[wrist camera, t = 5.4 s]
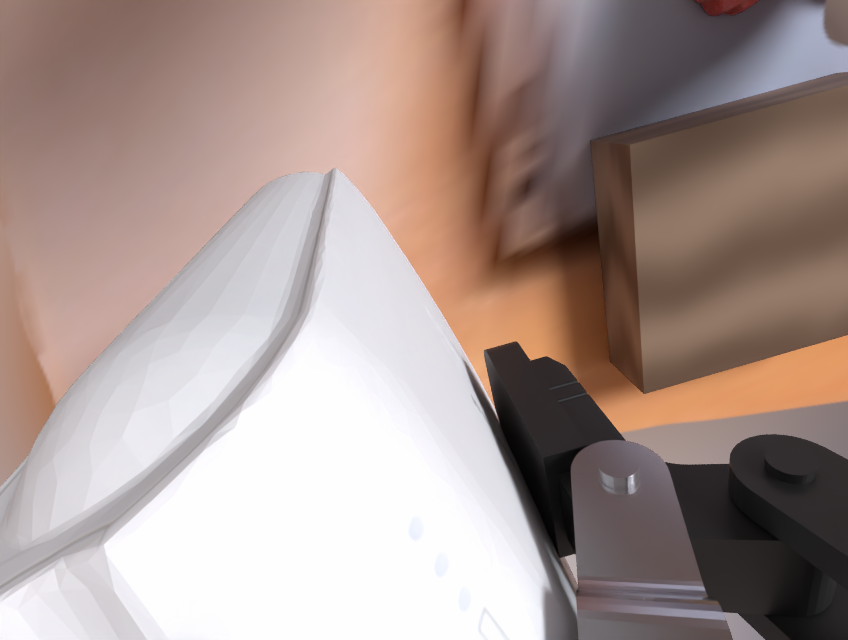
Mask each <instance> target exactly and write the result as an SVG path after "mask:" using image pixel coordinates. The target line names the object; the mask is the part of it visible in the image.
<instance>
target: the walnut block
mask: <svg viewBox="0 0 848 640" xmlns="http://www.w3.org/2000/svg"><path fill="white" fill-rule="evenodd" d="M590 143H591V154H592V165H593V176H594V187H595V198H596V209H597V220H598V231H599V242H600V254H601V265H602V276H603V287H604V298H605V309H606V320H607V331H608V342H609V353H610V362H611V363H612V364H613V365H614V366H615V367H616V368H618V369H619V370H620V371H621V372H622V373H623V374H624V375H625V376H626V377H627V378H628V379H629V380H630V381H631V382H632V383H633V384H634V385H635V386H636V387H637V388H638V389H639V390H640V391H641V392H643V393H644V394H646V393H649V392H653V391H656V390H660V389H663V388H666V387H670V386H673V385H677V384H680V383H684V382H687V381H691V380H694V379H697V378H701V377H704V376H708V375H711V374H715V373H718V372H722V371H725V370H728V369H732V368H735V367H739V366H742V365H746V364H749V363H753V362H756V361H760V360H763V359H766V358H770V357H773V356H777V355H780V354H784V353H787V352H791V351H794V350H797V349H801V348H804V347H808V346H811V345H815V344H818V343H822V342H825V341H828V340H832V339H835V338H839V337H842V336H846V335H848V72H843V73H835V74H831V75H828V76H824V77H820V78H817V79H813V80H809V81H806V82H802V83H799V84H795V85H791V86H788V87H784V88H780V89H777V90H773V91H769V92H766V93H762V94H759V95H755V96H751V97H748V98H744V99H740V100H737V101H733V102H729V103H726V104H722V105H718V106H715V107H711V108H708V109H704V110H700V111H697V112H693V113H689V114H686V115H682V116H678V117H675V118H671V119H668V120H664V121H660V122H657V123H653V124H649V125H646V126H642V127H638V128H635V129H631V130H628V131H624V132H620V133H617V134H613V135H609V136H606V137H602V138H598V139H595V140H591V141H590Z"/></svg>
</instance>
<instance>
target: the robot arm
mask: <svg viewBox="0 0 848 640" xmlns="http://www.w3.org/2000/svg"><path fill="white" fill-rule="evenodd" d="M484 357H485V362H486V367H487V372H488V376H489V381H490V386H491V391H492V395H493V400H494V405H495V409H496V413H497V417H498V420H499V423H500V426H501V428H502V431H503V433H504V435H505V438H506V440H507V442H508V444H509V447H510V449H511V451H512V453H513V455H514V457H515V459H516V461H517V464H518V466H519V468H520V470H521V473H522V475H523V477H524V480H525V482H526V484H527V486H528V489H529V491H530V493H531V495H532V497H533V500H534V502H535V504H536V506H537V509H538V511H539V513H540V515H541V518H542V520H543V522H544V524H545V527H546V529H547V531H548V533H549V536H550V538H551V540H552V542H553V544H554V547H555V549H556V551H557V553H558V555H559V558H562V557H565V556H568V555H572V554H576V562H577V577H578V589H577V590H576V604H577V623H578V640H733V639H732V635H731V632H730V629H729V626H728V624H727V621H726V618H725V615H724V613H723V612H729V613H738V614H739V615H740V616H741V617H742V618H743V619H744V620H745V621H746V622H747V623H749V624H750V625H751V626H752V627H753V628H754V629H755V630H756V631H757V632H758V633H759V634H760V635H761V636H762V637H763V638H764V639H765V640H848V460H847V459H846V458H844V457H842V456H840V455H838V454H836V453H834V452H832V451H831V450H829V449H827V448H825V447H823V446H820V445H818V444H816V443H813V442H811V441H808V440H805V439H801V438H797V437H792V436H786V435H776V434H772V435H759V436H755V437H750V438H747V439H745V440H743V441H741V442H740V443H738V444H737V445H736V446H735V447H734V448H733V450H732V452H731V454H730V463H729V464H707V465H705V464H702V465H680V464H672V463H667V462H664V461H663V459H662V458H661V457H660V456H658V454H656V453H655V452H654V451H652V450H650V449H649V448H647V447H645V446H643V445H640V444H637V443H634V442H629V441H626V440H625V439H624V438H623V437H622V435H621V434H620V433H619V432H618V430H617V429H616V428H615V427H614V425H613V424H612V423H611V422H610V420H609V419H608V418H607V417H606V415H605V414H604V413H603V412H602V410H601V409H600V408H599V407H598V406H597V404H596V403H595V402H594V401H593V399H592V398H591V397H590V396H589V395H587V393H586V391H585V389H584V388H583V387H582V386H581V384H580V383H578V382H577V379H576V378H575V377H574V376H573V375H572V373H571V372H570V371H569V370H568V368H567V367H566V366H565V365H563V364H561V363H559V362H557V361H555V360H553V359H551V358H549V357H547V356H546V357H542V358H539V359H535V360H531V361H530V359H529V358H528V357H527V355H526V354H525V352H524V351H523V349H522V348H521V346H520V345H519V344H518V342H516V341H515V342H512V343H508V344H505V345H501V346H497V347H494V348H490V349H487V350H484Z"/></svg>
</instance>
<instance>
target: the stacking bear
mask: <svg viewBox="0 0 848 640" xmlns="http://www.w3.org/2000/svg"><path fill="white" fill-rule="evenodd" d="M695 1H696V2H697V3H700V4H702V6H703V9H704V10H705V11H706V13H708V14H709V15H711V16H718V15H721V14H723V13H724V14H726V15H736V14H738V13H741V12H743V11H744V10H746V9H748V8H749V7H751V6H752V5H754V4H756V3H757V2H758V1H760V0H695Z"/></svg>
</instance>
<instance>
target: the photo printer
mask: <svg viewBox="0 0 848 640" xmlns="http://www.w3.org/2000/svg"><path fill="white" fill-rule="evenodd" d="M577 589H578V584H577V582H576V580H575V578H574V576H573V573H572V571H571V569H570V567H569V565H568V563H567V561H566V559H565V557H562V558H559V555H558V553H557V551H556V549H555V547H554V544H553V542H552V540H551V538H550V536H549V533H548V531H547V529H546V527H545V524H544V522H543V520H542V518H541V515H540V513H539V511H538V509H537V506H536V504H535V502H534V500H533V497H532V495H531V493H530V491H529V489H528V486H527V484H526V482H525V480H524V477H523V475H522V473H521V470H520V468H519V466H518V464H517V461H516V459H515V457H514V455H513V453H512V451H511V449H510V447H509V444H508V442H507V440H506V438H505V435H504V433H503V431H502V428H501V426H500V423H499V420H498V417H497V413H496V410H495V408H494V406H493V404H492V402H491V400H490V398H489V396H488V394H487V392H486V390H485V388H484V387H483V385H482V383H481V381H480V379H479V377H478V375H477V373H476V372H475V370H474V368H473V366H472V364H471V363H470V361H469V359H468V358H467V356H466V354H465V352H464V351H463V349H462V347H461V345H460V344H459V342H458V340H457V338H456V337H455V335H454V333H453V332H452V330H451V328H450V327H449V325H448V323H447V321H446V320H445V318H444V316H443V315H442V313H441V311H440V310H439V308H438V307H437V305H436V303H435V302H434V300H433V299H432V297H431V295H430V294H429V292H428V291H427V289H426V287H425V286H424V284H423V283H422V281H421V279H420V278H419V276H418V275H417V273H416V272H415V270H414V269H413V267H412V265H411V264H410V262H409V261H408V259H407V258H406V256H405V255H404V253H403V252H402V250H401V249H400V247H399V246H398V244H397V243H396V241H395V240H394V238H393V237H392V235H391V234H390V232H389V231H388V229H387V228H386V226H385V225H384V223H383V222H382V221H381V219H380V218H379V216H378V215H377V213H376V212H375V210H374V209H373V208H372V206H371V205H370V204H369V202H368V201H367V200H366V199H365V198H364V196H363V195H362V194H361V193H360V192H359V190H358V189H357V188H356V187H355V186H354V185H353V184H352V182H351V181H350V180H349V179H348V178H347V177H346V176H345V175H344V174H343V173H342V172H341V171H340V170H338V169H336V168H334V169H332V170H331V171H330V172H329V173H327V174H325V175H324V174H321V173H314V172H301V173H294V174H289V175H286V176H282V177H280V178H277V179H275V180H273V181H271V182H269V183H268V184H267V185H265V186H264V187H262V188H261V189H260V190H259V191H258V192H257V193H256V194H254V195H253V196H252V197H251V198H250V200H249V201H248V202H247V203H246V204H245V205H244V206H243V207H242V208H241V209H240V210H239V211H238V212H237V213H236V214H235V215H234V216H233V217H232V218H231V219H230V220H229V221H228V222H227V223H226V224H225V225H224V226H223V227H222V228H221V229H220V230H219V231H218V232H217V233H216V234H215V236H214V237H213V238H212V239H211V240H210V241H209V242H208V243H207V244H206V245H205V246H204V247H203V248H202V249H201V250H200V251H199V252H198V253H197V254H196V255H195V256H194V257H193V258H192V260H191V261H190V262H189V263H188V264H187V265H186V266H185V267H184V268H183V269H182V270H181V271H180V272H179V273H178V274H177V275H176V276H175V277H174V278H173V279H172V280H171V281H170V282H169V283H168V285H167V286H166V287H165V288H164V289H163V290H162V291H161V292H160V293H159V294H158V295H157V296H156V297H155V298H154V299H153V300H152V301H151V302H150V303H149V304H148V305H147V306H146V307H145V308H144V309H143V310H142V311H141V313H140V314H139V315H138V316H137V317H136V318H135V319H134V320H133V321H132V322H131V323H130V324H129V325H128V326H127V327H126V328H125V329H124V330H123V331H122V332H121V333H120V334H119V335H118V336H117V338H116V339H115V340H114V341H113V342H112V343H111V344H110V345H109V346H108V347H107V348H106V349H105V350H104V351H103V352H102V353H101V354H100V355H99V357H98V358H97V359H96V360H95V361H94V362H93V363H92V364H91V365H90V366H89V367H88V368H87V369H86V370H85V371H84V372H83V374H82V375H81V376H80V377H79V378H78V379H77V380H76V381H75V382H74V384H73V385H72V386H71V387H70V388H69V390H68V391H67V392H66V393H65V395H64V396H63V397H62V398H61V400H60V401H59V402H58V403H57V405H56V407H55V408H54V410H53V412H52V414H51V415H50V417H49V419H48V420H47V422H46V423H45V425H44V427H43V428H42V430H41V432H40V433H39V435H38V437H37V439H36V441H35V443H34V445H33V447H32V450H31V452H30V454H29V455H28V456H27V457H26V458H25V460H24V461H23V462H22V463H21V464H20V465H19V466H18V468H17V469H16V470H15V471H14V472H13V473H12V474H11V475H10V477H9V478H8V479H7V480H6V481H5V482H4V483H3V485H2V486H1V487H0V640H578V623H577V604H576V590H577Z"/></svg>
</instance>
